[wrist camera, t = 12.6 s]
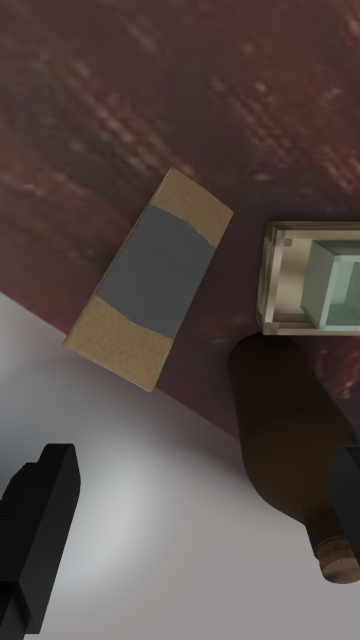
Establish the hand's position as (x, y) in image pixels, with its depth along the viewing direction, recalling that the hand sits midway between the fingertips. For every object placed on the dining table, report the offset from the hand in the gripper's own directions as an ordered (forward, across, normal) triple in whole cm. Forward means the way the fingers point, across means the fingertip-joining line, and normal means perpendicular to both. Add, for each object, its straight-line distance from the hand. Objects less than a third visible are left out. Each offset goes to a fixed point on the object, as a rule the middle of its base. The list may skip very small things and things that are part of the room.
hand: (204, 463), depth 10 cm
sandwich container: (+30, +2, +1) cm, 31 cm away
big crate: (+30, -16, +4) cm, 35 cm away
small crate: (+29, -16, +4) cm, 34 cm away
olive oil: (+30, -10, +17) cm, 36 cm away
